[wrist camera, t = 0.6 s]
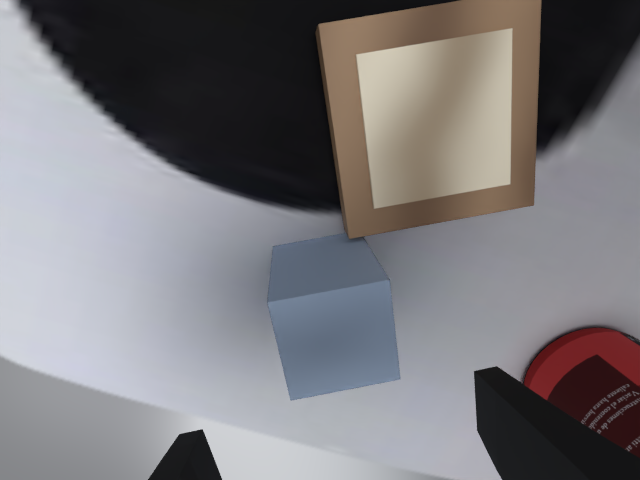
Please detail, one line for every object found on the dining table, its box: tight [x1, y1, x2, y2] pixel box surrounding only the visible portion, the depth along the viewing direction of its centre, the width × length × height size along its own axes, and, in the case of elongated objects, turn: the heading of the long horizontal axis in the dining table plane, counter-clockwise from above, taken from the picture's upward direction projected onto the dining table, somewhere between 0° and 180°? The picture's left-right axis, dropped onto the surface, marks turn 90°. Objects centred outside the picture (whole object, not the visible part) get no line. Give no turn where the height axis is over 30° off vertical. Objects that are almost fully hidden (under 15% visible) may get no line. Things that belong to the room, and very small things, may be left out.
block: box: [267, 233, 400, 400], centre depth 17 cm, size 4×4×6 cm
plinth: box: [316, 0, 541, 239], centre depth 17 cm, size 9×9×2 cm
